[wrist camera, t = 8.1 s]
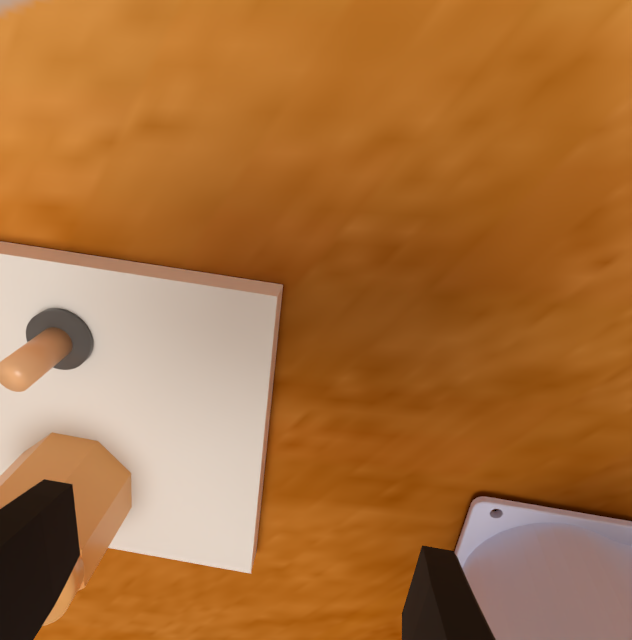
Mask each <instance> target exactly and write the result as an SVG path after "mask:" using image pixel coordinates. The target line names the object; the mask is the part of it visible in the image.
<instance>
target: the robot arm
mask: <svg viewBox="0 0 632 640" xmlns="http://www.w3.org/2000/svg"><path fill="white" fill-rule="evenodd" d="M493 509H499V510H497V511H491V510H493ZM79 556H80V548H79V539H78V530H77V521H76V512H75V502H74V493H73V484H68V483H63V482H57V481H51V480H46V479H44V480H42V481H41V482H39V483H38V484H36V485H35V486H33V487H32V488H30V489H29V490H27V491H26V492H24V493H23V494H21V495H20V496H18V497H17V498H16V499H14V500H13V501H11V502H10V503H8V504H7V505H5V506H4V507H2V508H1V509H0V640H33V639H34V638H35V636H36V634H37V633H38V631H39V630H40V628H41V627H42V625H43V624H44V622H45V620H46V619H47V617H48V616H49V614H50V612H51V611H52V609H53V608H54V606H55V604H56V602H57V600H58V598H59V596H60V594H61V592H62V591H63V589H64V587H65V585H66V583H67V581H68V579H69V577H70V575H71V573H72V571H73V568H74V566H75V564H76V562H77V560H78V558H79ZM402 640H632V521H627V520H621V519H615V518H609V517H603V516H597V515H591V514H585V513H580V512H574V511H568V510H562V509H556V508H550V507H544V506H538V505H533V504H527V503H521V502H515V501H509V500H503V499H497V498H491V497H484V496H481V497H477V498H475V499H474V500H473V501H472V503H471V505H470V508H469V511H468V514H467V517H466V520H465V523H464V526H463V529H462V532H461V535H460V537H459V540H458V543H457V546H456V549H455V552H453V551H450V550H444V549H438V548H432V547H427V546H422V548H421V552H420V555H419V558H418V562H417V565H416V569H415V572H414V575H413V579H412V582H411V585H410V589H409V592H408V595H407V599H406V602H405V606H404V609H403V612H402Z"/></svg>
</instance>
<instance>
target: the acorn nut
mask: <svg viewBox="0 0 632 640" xmlns="http://www.w3.org/2000/svg"><path fill="white" fill-rule="evenodd" d="M44 479H46V480H51V481H57V482H63V483H68V484H73V493H74V502H75V512H76V521H77V530H78V539H79V548H80V556H79V558H78V560H77V562H76V564H75V566H74V568H73V571H72V573H71V575H70V577H69V579H68V581H67V583H66V585H65V587H64V589H63V591H62V592H61V594H60V596H59V598H58V600H57V602H56V604H55V606H54V608H53V609H52V611H51V612H50V614H49V616H48V617H47V619H46V620H45V622H44V624H43V625H42V626H44V625H48V624H50V623H53V622H55V621H56V620H58V619H59V618H60V617H61V616H62V615H63V614H64V613H65V611H66V610H67V608H68V607H69V605H70V603H71V601H72V600H73V598H74V596H75V595H76V593H77V591H79V590H81V589H83V588H85V586H86V584H87V583H88V581H89V579H90V577H91V576H92V574H93V572H94V571H95V569H96V567H97V566H98V564H99V562H100V560H101V559H102V557H103V555H104V554H105V552H106V550H107V549H108V547H109V545H110V543H111V542H112V540H113V538H114V537H115V535H116V533H117V532H118V530H119V528H120V526H121V525H122V523H123V521H124V520H125V518H126V516H127V515H128V513H129V511H130V509H131V508H132V495H131V472H130V471H129V470H127V469H126V468H125V467H124V466H123V465H122V464H121V463H120V462H119V461H118V460H117V459H116V458H115V457H114V456H113V455H112V454H111V453H110V452H109V451H108V450H107V449H106V448H105V447H104V446H103V445H102V444H101V443H100V442H98V441H95V440H90V439H85V438H79V437H74V436H69V435H63V434H58V433H53V432H52V433H50V434H49V435H48V436H46V437H45V438H43V439H42V440H40V441H39V442H38V443H36V444H35V445H33V446H32V447H31V448H29V449H28V450H26V451H25V452H23V453H22V454H21V455H20V456H19V457H18V458H17V459H16V460H15V461H14V462H13V463H12V465H11V466H10V467H9V468H8V469H7V470H6V471H5V472H4V473H3V474H2V475H1V476H0V509H1V508H2V507H4V506H5V505H7V504H8V503H10V502H11V501H13V500H14V499H16V498H17V497H18V496H20V495H21V494H23V493H24V492H26V491H27V490H29V489H30V488H32V487H33V486H35V485H36V484H38V483H39V482H41V481H42V480H44Z"/></svg>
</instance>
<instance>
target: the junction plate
mask: <svg viewBox="0 0 632 640" xmlns="http://www.w3.org/2000/svg"><path fill="white" fill-rule="evenodd" d="M282 292H283V284H276V283H270V282H263V281H257V280H250V279H244V278H237V277H231V276H224V275H218V274H211V273H205V272H198V271H192V270H185V269H178V268H172V267H165V266H159V265H152V264H146V263H139V262H133V261H126V260H120V259H113V258H107V257H100V256H94V255H87V254H81V253H74V252H68V251H61V250H55V249H48V248H42V247H35V246H29V245H22V244H16V243H9V242H3V241H0V476H1V475H2V474H3V473H4V472H5V471H6V470H7V469H8V468H9V467H10V466H11V465H12V463H13V462H14V461H15V460H16V459H17V458H18V457H19V456H20V455H21V454H22V453H23V452H25V451H26V450H28V449H29V448H31V447H32V446H33V445H35V444H36V443H38V442H39V441H40V440H42V439H43V438H45V437H46V436H48V435H49V434H50V433H52V432H53V433H58V434H63V435H69V436H74V437H79V438H85V439H90V440H95V441H98V442H100V443H101V444H102V445H103V446H104V447H105V448H106V449H107V450H108V451H109V452H110V453H111V454H112V455H113V456H114V457H115V458H116V459H117V460H118V461H119V462H120V463H121V464H122V465H123V466H124V467H125V468H126V469H127V470H129V471H130V472H131V495H132V508H131V509H130V511H129V513H128V515H127V516H126V518H125V520H124V521H123V523H122V525H121V526H120V528H119V530H118V532H117V533H116V535H115V537H114V538H113V540H112V542H111V543H110V545H109V547H108V548H113V549H118V550H124V551H129V552H135V553H140V554H146V555H151V556H157V557H162V558H168V559H173V560H179V561H184V562H190V563H196V564H201V565H207V566H212V567H218V568H223V569H229V570H234V571H240V572H245V573H251V571H252V567H253V563H254V559H255V555H256V551H257V541H258V531H259V521H260V511H261V501H262V491H263V481H264V471H265V461H266V451H267V441H268V431H269V421H270V411H271V401H272V391H273V381H274V371H275V361H276V351H277V342H278V332H279V322H280V312H281V302H282Z"/></svg>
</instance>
